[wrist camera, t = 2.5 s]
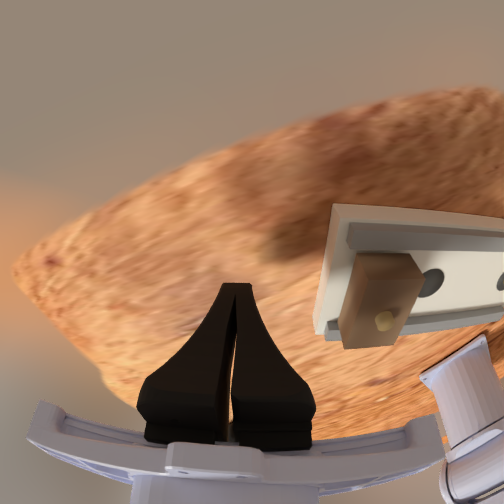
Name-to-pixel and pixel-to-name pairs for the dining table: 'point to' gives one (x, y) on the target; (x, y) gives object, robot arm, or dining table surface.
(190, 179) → the dining table surface
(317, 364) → the dining table surface
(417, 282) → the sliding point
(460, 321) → the plate
